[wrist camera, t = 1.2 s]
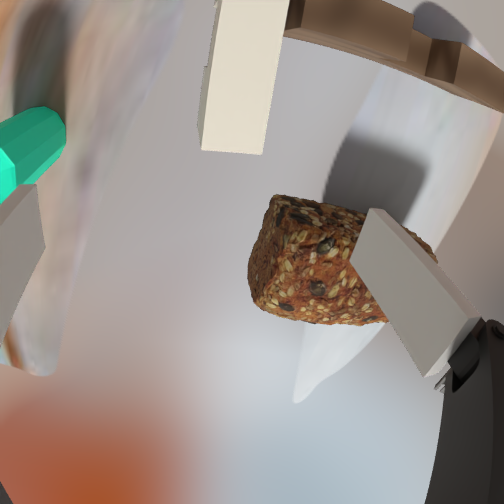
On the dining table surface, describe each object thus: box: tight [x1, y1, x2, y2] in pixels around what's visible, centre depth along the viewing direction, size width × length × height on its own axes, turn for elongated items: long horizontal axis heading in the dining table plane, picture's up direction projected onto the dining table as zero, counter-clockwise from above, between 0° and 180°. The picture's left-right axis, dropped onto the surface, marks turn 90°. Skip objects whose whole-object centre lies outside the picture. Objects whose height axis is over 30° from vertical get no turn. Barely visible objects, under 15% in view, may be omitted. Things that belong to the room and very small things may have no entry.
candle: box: [0, 106, 66, 205], centre depth 18 cm, size 6×6×12 cm
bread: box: [247, 194, 438, 326], centre depth 33 cm, size 19×11×10 cm, turn 72°
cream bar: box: [197, 0, 290, 155], centre depth 19 cm, size 16×4×8 cm, turn 171°
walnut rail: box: [283, 0, 504, 113], centre depth 21 cm, size 4×22×8 cm, turn 81°
